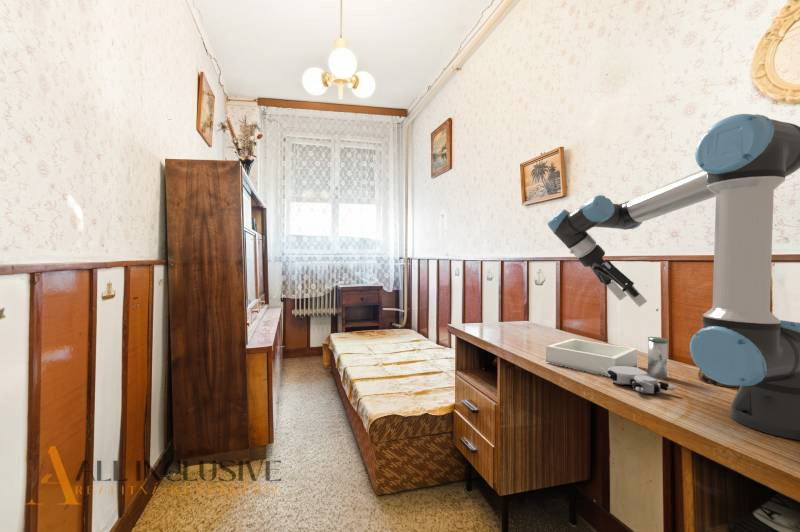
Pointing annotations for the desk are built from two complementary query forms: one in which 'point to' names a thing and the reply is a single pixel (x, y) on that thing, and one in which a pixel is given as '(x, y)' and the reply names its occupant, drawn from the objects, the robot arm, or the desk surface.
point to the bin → (590, 355)
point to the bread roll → (711, 380)
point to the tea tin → (657, 357)
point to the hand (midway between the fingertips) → (632, 300)
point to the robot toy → (636, 379)
